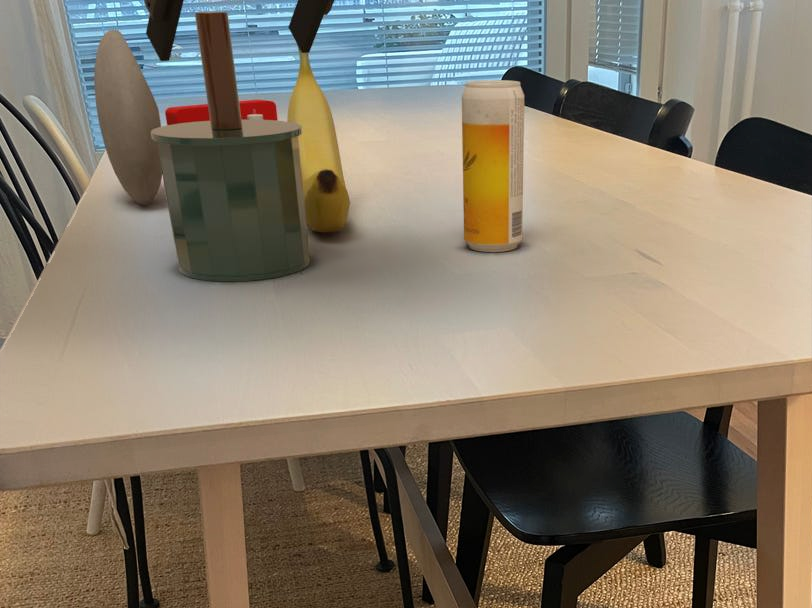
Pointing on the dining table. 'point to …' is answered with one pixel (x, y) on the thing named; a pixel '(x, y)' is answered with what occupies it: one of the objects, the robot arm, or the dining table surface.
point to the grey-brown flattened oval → (127, 118)
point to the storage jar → (236, 209)
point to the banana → (318, 153)
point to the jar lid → (222, 97)
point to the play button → (202, 114)
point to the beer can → (493, 164)
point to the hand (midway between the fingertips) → (231, 43)
